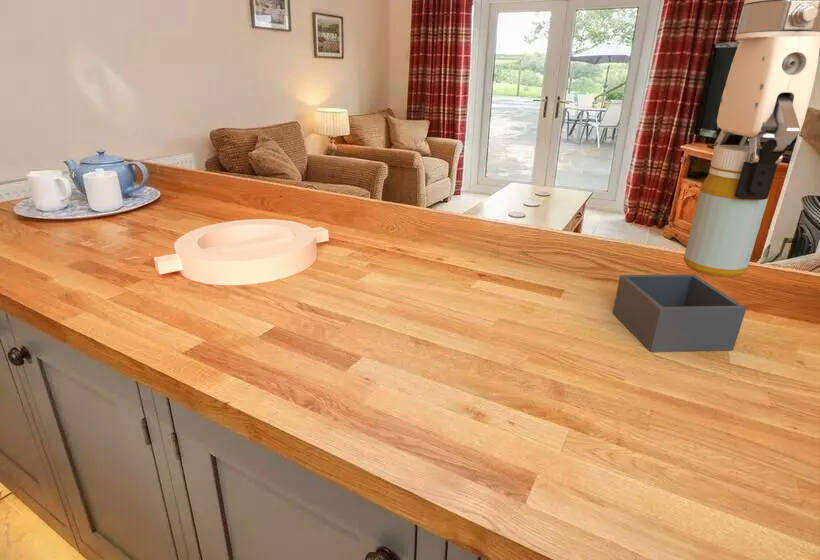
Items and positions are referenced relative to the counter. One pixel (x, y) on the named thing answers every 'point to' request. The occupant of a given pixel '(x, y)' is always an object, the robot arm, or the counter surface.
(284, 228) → the peach handled dish
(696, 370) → the counter surface
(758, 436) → the counter surface
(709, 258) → the bottle
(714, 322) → the box
